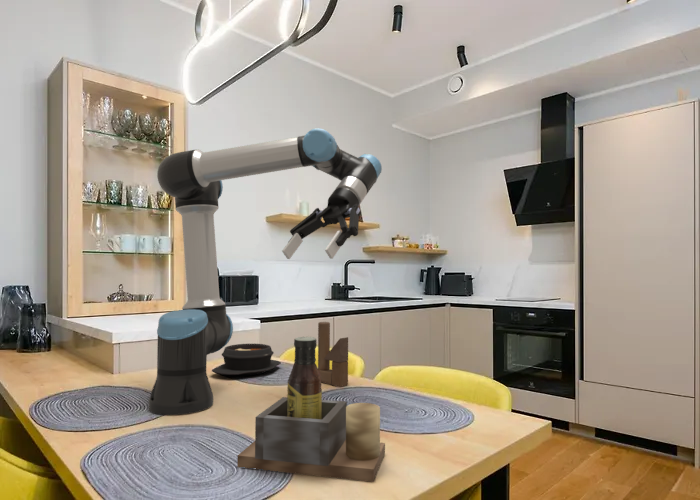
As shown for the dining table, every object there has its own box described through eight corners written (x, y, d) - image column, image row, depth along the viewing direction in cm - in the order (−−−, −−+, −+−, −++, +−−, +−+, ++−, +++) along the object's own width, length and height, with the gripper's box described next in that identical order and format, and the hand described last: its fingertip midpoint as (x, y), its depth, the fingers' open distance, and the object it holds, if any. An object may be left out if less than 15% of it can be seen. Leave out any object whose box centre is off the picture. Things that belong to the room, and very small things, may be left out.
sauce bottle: (287, 441, 89) (288, 335, 90) (321, 441, 90) (321, 335, 90) (285, 455, 83) (286, 340, 83) (321, 454, 83) (322, 340, 84)
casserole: (240, 383, 142) (240, 355, 142) (198, 375, 152) (198, 349, 152) (293, 369, 163) (293, 344, 163) (253, 362, 173) (254, 339, 173)
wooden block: (339, 387, 138) (340, 325, 138) (314, 381, 145) (315, 322, 146) (348, 385, 140) (348, 324, 141) (323, 379, 148) (323, 321, 148)
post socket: (236, 468, 82) (236, 409, 82) (265, 441, 95) (266, 390, 95) (373, 483, 76) (373, 420, 77) (385, 452, 89) (385, 398, 90)
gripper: (393, 205, 117) (355, 266, 105) (317, 212, 132) (277, 266, 120) (381, 181, 113) (340, 241, 101) (304, 191, 128) (261, 244, 116)
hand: (306, 254), depth 110 cm, fingers open, 13 cm apart
